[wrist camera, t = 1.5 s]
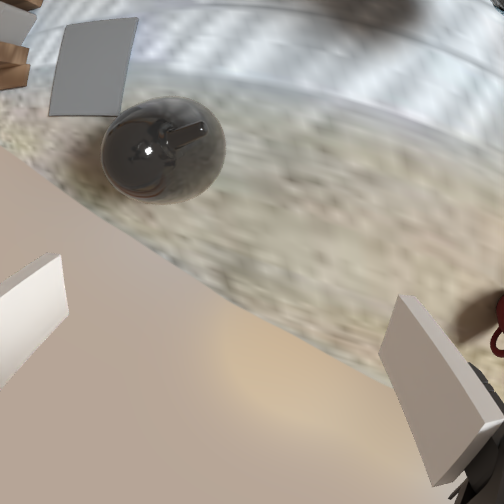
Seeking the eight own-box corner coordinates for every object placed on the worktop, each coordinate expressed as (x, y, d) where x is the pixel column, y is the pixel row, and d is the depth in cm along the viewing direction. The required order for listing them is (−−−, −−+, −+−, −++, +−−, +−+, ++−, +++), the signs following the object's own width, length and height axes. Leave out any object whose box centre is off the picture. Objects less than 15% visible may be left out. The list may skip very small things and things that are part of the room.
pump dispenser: (243, 179, 33) (228, 208, 19) (154, 206, 35) (87, 251, 20) (217, 88, 30) (181, 50, 16) (127, 121, 32) (45, 115, 17)
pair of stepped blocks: (23, -16, 24) (-7, -29, 17) (57, -27, 24) (27, -45, 17) (-5, 90, 30) (-42, 89, 22) (26, 86, 30) (-12, 82, 22)
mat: (68, 26, 27) (66, 25, 27) (138, 18, 27) (137, 17, 27) (51, 115, 31) (48, 115, 31) (119, 115, 31) (117, 115, 31)
